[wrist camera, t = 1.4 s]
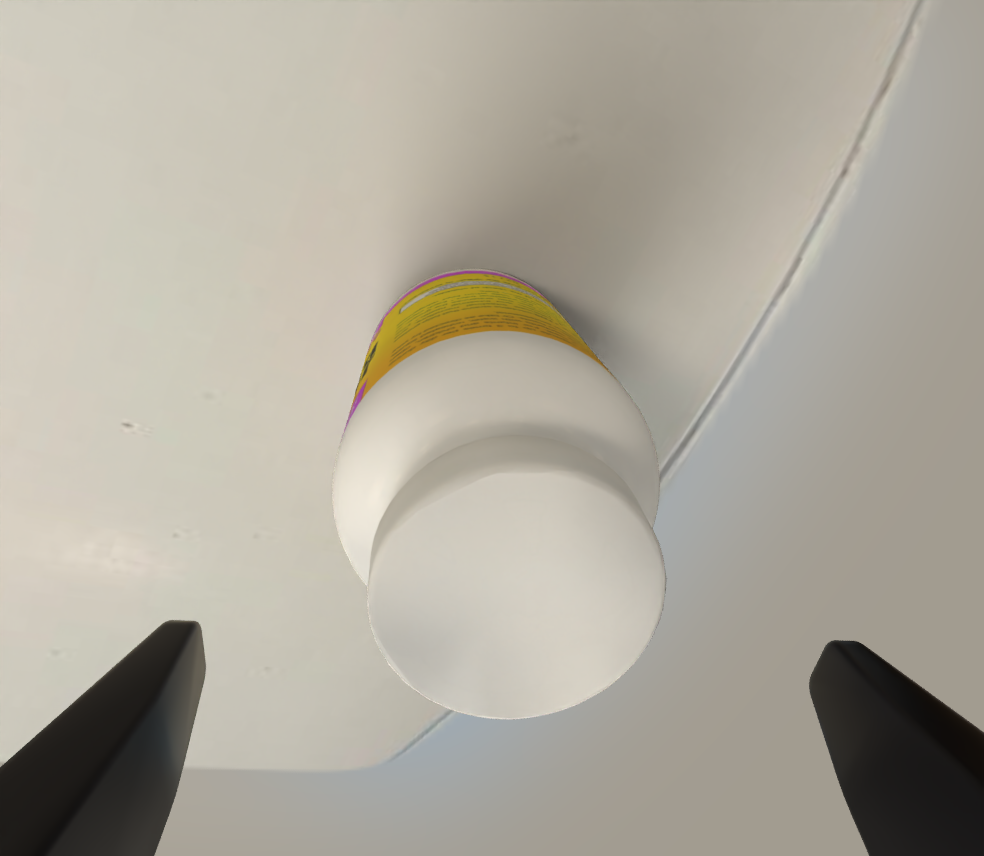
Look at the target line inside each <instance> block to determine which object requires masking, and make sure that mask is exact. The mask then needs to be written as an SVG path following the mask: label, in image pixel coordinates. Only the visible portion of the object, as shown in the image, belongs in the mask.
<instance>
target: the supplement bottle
mask: <svg viewBox="0 0 984 856" xmlns="http://www.w3.org/2000/svg"><path fill="white" fill-rule="evenodd" d="M659 492H660V480H659V466H658V458H657V454H656V449H655V446H654V442H653V439H652V435H651V433H650V430H649V428H648V426H647V423H646V421H645V419H644V417H643V416H642V414H641V412H640V410H639V408H638V407H637V405H636V404H635V403H634V401H633V400H632V398H631V397H630V396H629V394H628V393H627V392H626V391H625V389H624V388H623V387H622V386H621V384H620V383H619V382H618V380H617V379H616V378H615V377H614V376H613V375H612V374H611V373H610V372H609V371H608V369H607V368H606V367H605V366H604V365H603V364H602V362H601V361H600V360H599V359H598V358H597V357H596V356H595V354H594V353H593V352H592V351H591V350H590V348H589V347H588V346H587V345H586V343H585V342H584V341H583V340H582V339H581V338H580V336H579V335H578V334H577V333H576V332H575V331H574V329H573V328H572V327H571V326H570V325H569V323H568V322H567V321H566V320H565V319H564V317H563V316H562V315H561V314H560V313H559V311H558V310H557V309H556V308H555V307H554V306H553V305H552V304H551V303H550V302H549V301H548V300H547V299H546V298H545V297H544V296H543V295H542V294H541V293H539V292H538V291H537V290H536V289H534V288H533V287H531V286H530V285H528V284H527V283H525V282H523V281H521V280H519V279H517V278H515V277H513V276H510V275H507V274H504V273H501V272H497V271H492V270H486V269H460V270H454V271H448V272H444V273H441V274H438V275H435V276H432V277H430V278H428V279H425V280H424V281H422V282H420V283H418V284H416V285H415V286H413V287H412V288H410V289H409V290H408V291H406V292H405V293H404V294H403V295H401V296H400V297H399V298H398V299H397V300H396V301H395V302H394V303H393V304H392V306H391V307H390V308H389V309H388V311H387V312H386V313H385V315H384V316H383V318H382V319H381V321H380V323H379V325H378V326H377V328H376V331H375V333H374V335H373V338H372V340H371V343H370V346H369V349H368V353H367V355H366V358H365V362H364V366H363V369H362V372H361V376H360V380H359V383H358V386H357V389H356V392H355V397H354V400H353V403H352V407H351V410H350V414H349V417H348V420H347V423H346V427H345V430H344V433H343V436H342V439H341V443H340V446H339V450H338V454H337V458H336V462H335V468H334V473H333V488H332V496H333V511H334V517H335V522H336V527H337V531H338V535H339V538H340V541H341V543H342V546H343V548H344V551H345V553H346V555H347V557H348V559H349V561H350V562H351V564H352V566H353V568H354V570H355V571H356V573H357V574H358V576H359V577H360V578H361V580H362V581H363V582H364V583H365V585H366V586H367V608H368V616H369V621H370V626H371V630H372V633H373V636H374V638H375V640H376V643H377V645H378V647H379V650H380V651H381V653H382V654H383V656H384V658H385V660H386V661H387V663H388V664H389V666H390V667H391V668H392V669H393V670H394V671H395V672H396V673H397V674H398V676H399V677H400V678H401V679H402V680H403V681H404V682H405V683H406V684H407V685H409V686H410V687H411V688H413V689H414V690H415V691H416V692H418V693H419V694H421V695H422V696H424V697H425V698H427V699H428V700H430V701H432V702H434V703H436V704H439V705H441V706H443V707H446V708H448V709H451V710H453V711H456V712H460V713H463V714H468V715H472V716H477V717H483V718H491V719H522V718H532V717H537V716H542V715H547V714H551V713H555V712H558V711H562V710H564V709H566V708H570V707H573V706H575V705H578V704H579V703H581V702H583V701H585V700H587V699H589V698H591V697H592V696H594V695H596V694H598V693H600V692H602V691H604V690H605V689H606V688H608V687H609V686H610V685H611V684H613V683H614V682H615V681H616V680H618V679H619V678H620V677H621V676H622V675H623V674H624V673H625V672H626V671H628V669H630V667H631V666H632V665H633V664H634V663H635V662H636V661H637V660H638V658H639V657H640V655H641V654H642V653H643V651H644V650H645V649H646V647H647V646H648V644H649V642H650V640H651V639H652V637H653V635H654V633H655V630H656V628H657V626H658V623H659V621H660V618H661V614H662V611H663V606H664V597H665V591H666V573H665V566H664V560H663V555H662V552H661V548H660V545H659V542H658V540H657V538H656V535H655V533H654V531H653V526H654V522H655V518H656V514H657V509H658V502H659Z"/></svg>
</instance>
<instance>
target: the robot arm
mask: <svg viewBox="0 0 984 856" xmlns="http://www.w3.org/2000/svg"><path fill="white" fill-rule="evenodd" d="M205 671H206V662H205V654H204V646H203V638H202V630H201V626H200V624H199V623H198V622H196V621H182V620H169V621H167V622H165V623H163V624H162V625H161V626H159V627H158V628H157V629H156V630H155V631H154V632H153V633H151V634H150V635H149V636H148V637H147V638H146V639H145V640H144V641H142V642H141V643H140V644H139V645H138V646H137V647H136V648H135V649H133V650H132V651H131V652H130V653H129V654H128V655H127V656H126V657H124V658H123V659H122V660H121V661H120V662H119V663H118V664H116V665H115V666H114V667H113V668H112V669H111V670H110V671H109V672H107V673H106V674H105V675H104V676H103V677H102V678H101V679H100V680H98V681H97V682H96V683H95V684H94V685H93V686H92V687H90V688H89V689H88V690H87V691H86V692H85V693H84V694H83V695H81V696H80V697H79V698H78V699H77V700H76V701H75V702H74V703H72V704H71V705H70V706H69V707H68V708H67V709H66V710H65V711H63V712H62V713H61V714H60V715H59V716H58V717H57V718H55V719H54V720H53V721H52V722H51V723H50V724H49V725H48V726H46V727H45V728H44V729H43V730H42V731H41V732H40V733H39V734H37V735H36V736H35V737H34V738H33V739H32V740H31V741H30V742H28V743H27V744H26V745H25V746H24V747H23V748H22V749H20V750H19V751H18V752H17V753H16V754H15V755H14V756H13V757H11V758H10V759H9V760H8V761H7V762H6V763H5V764H4V765H2V766H1V767H0V856H154V855H155V852H156V849H157V846H158V844H159V841H160V838H161V836H162V833H163V830H164V827H165V825H166V822H167V819H168V816H169V814H170V811H171V808H172V804H173V802H174V799H175V796H176V792H177V788H178V785H179V781H180V777H181V773H182V769H183V765H184V761H185V757H186V753H187V749H188V745H189V741H190V737H191V733H192V728H193V724H194V720H195V716H196V712H197V708H198V704H199V700H200V696H201V692H202V688H203V684H204V679H205ZM809 689H810V694H811V698H812V701H813V704H814V707H815V710H816V713H817V716H818V719H819V723H820V726H821V729H822V732H823V735H824V738H825V741H826V744H827V747H828V750H829V753H830V756H831V760H832V763H833V765H834V769H835V772H836V775H837V778H838V781H839V784H840V786H841V789H842V792H843V795H844V797H845V800H846V802H847V805H848V807H849V810H850V812H851V815H852V817H853V819H854V822H855V824H856V826H857V828H858V831H859V833H860V835H861V838H862V840H863V842H864V844H865V847H866V849H867V852H868V854H869V856H984V732H982V731H981V730H979V729H978V728H977V727H976V726H974V725H973V724H972V723H970V722H969V721H967V720H966V719H965V718H963V717H962V716H960V715H959V714H958V713H956V712H955V711H954V710H952V709H951V708H950V707H948V706H947V705H945V704H944V703H943V702H941V701H940V700H938V699H937V698H936V697H934V696H933V695H932V694H930V693H929V692H928V691H926V690H925V689H923V688H922V687H921V686H919V685H918V684H917V683H915V682H914V681H913V680H911V679H910V678H908V677H907V676H906V675H904V674H903V673H902V672H900V671H899V670H897V669H896V668H895V667H893V666H892V665H890V664H889V663H888V662H886V661H885V660H884V659H882V658H881V657H879V656H878V655H877V654H875V653H874V652H873V651H871V650H870V649H868V648H867V647H866V646H864V645H863V644H861V643H859V642H856V641H838V640H834V641H831V642H829V643H828V644H827V645H826V646H825V648H824V650H823V652H822V654H821V656H820V658H819V660H818V662H817V665H816V667H815V668H814V671H813V672H812V674H811V677H810V682H809Z"/></svg>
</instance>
